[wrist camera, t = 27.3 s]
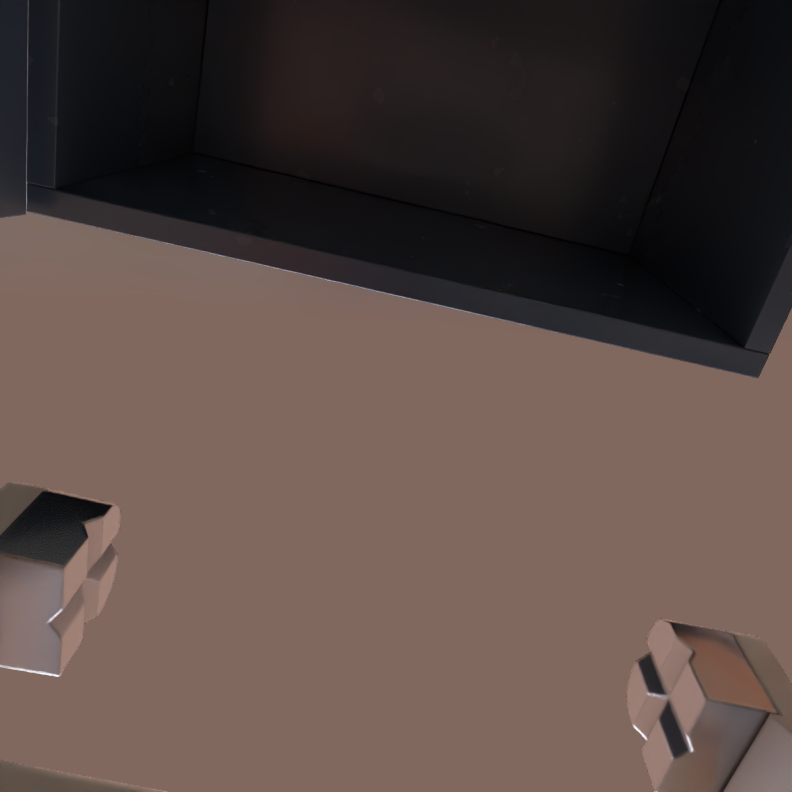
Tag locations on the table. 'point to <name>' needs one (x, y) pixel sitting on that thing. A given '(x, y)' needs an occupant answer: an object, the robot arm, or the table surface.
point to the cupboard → (444, 152)
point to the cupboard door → (13, 106)
